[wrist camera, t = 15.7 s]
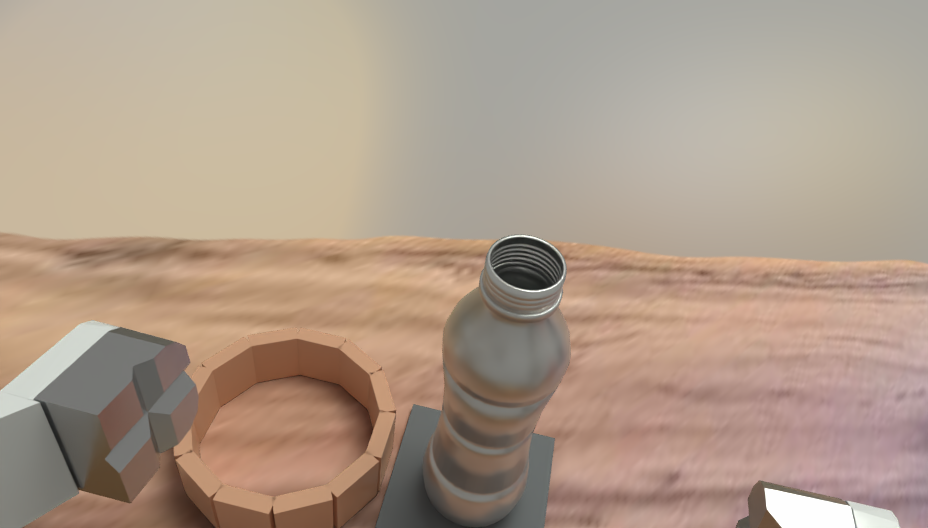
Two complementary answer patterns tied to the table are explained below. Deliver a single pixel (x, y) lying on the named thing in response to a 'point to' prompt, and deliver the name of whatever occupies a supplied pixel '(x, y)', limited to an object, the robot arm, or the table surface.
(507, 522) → the charcoal mat
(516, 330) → the silver metal bottle
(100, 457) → the robot arm
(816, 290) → the table surface
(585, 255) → the table surface
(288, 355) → the terracotta segmented ring
